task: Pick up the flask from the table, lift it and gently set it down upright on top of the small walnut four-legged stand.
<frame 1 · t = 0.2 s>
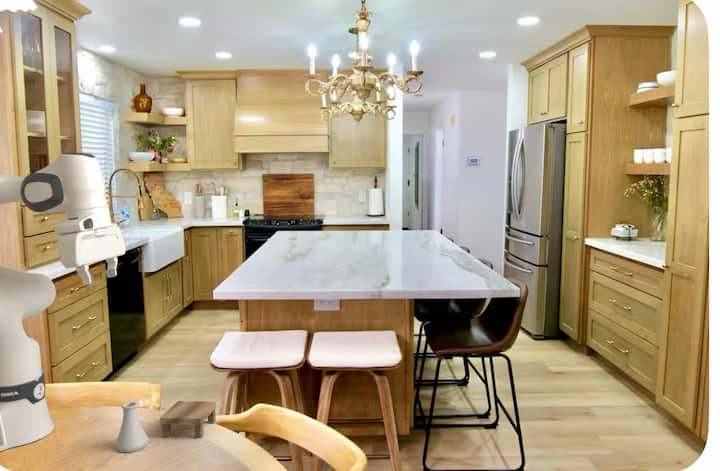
hand: (100, 280, 128), 38 cm above the table, tool pointing down, fingers open, 8 cm apart
flask: (132, 446, 127), on the table
walnut stand: (190, 429, 135), on the table
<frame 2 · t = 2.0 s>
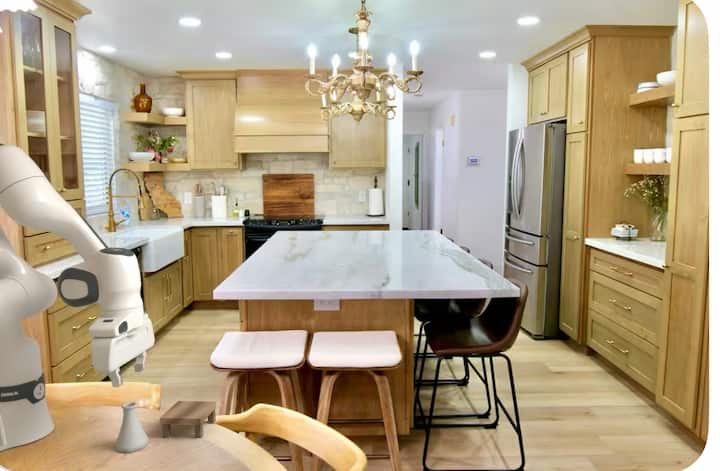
hand: (129, 378, 125), 16 cm above the table, tool pointing down, fingers open, 8 cm apart
nothing on the table moved.
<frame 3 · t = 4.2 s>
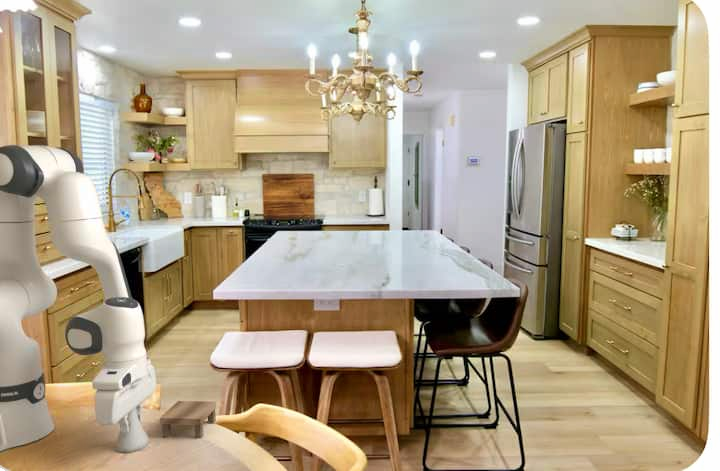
hand: (131, 426, 127), 5 cm above the table, tool pointing down, fingers closed on flask, 3 cm apart
flask: (132, 446, 127), on the table, touching gripper
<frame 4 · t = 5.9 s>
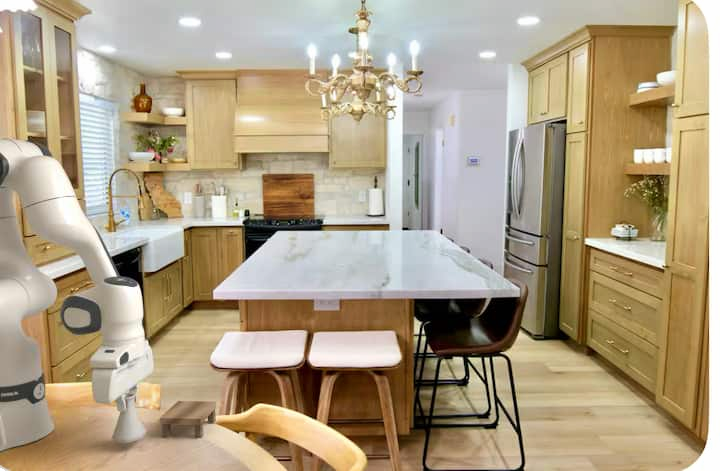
hand: (127, 406, 126), 9 cm above the table, tool pointing down, fingers closed on flask, 3 cm apart
flask: (129, 437, 127), point 2 cm above the table, touching gripper
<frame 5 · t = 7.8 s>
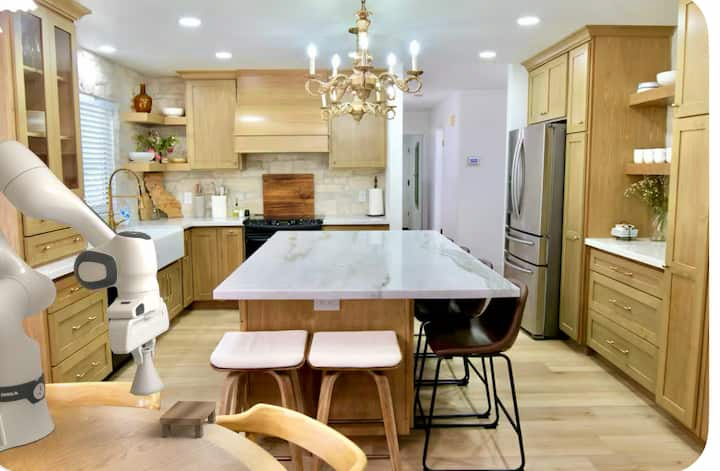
hand: (144, 360, 127), 20 cm above the table, tool pointing down, fingers closed on flask, 3 cm apart
flask: (147, 391, 128), point 12 cm above the table, touching gripper
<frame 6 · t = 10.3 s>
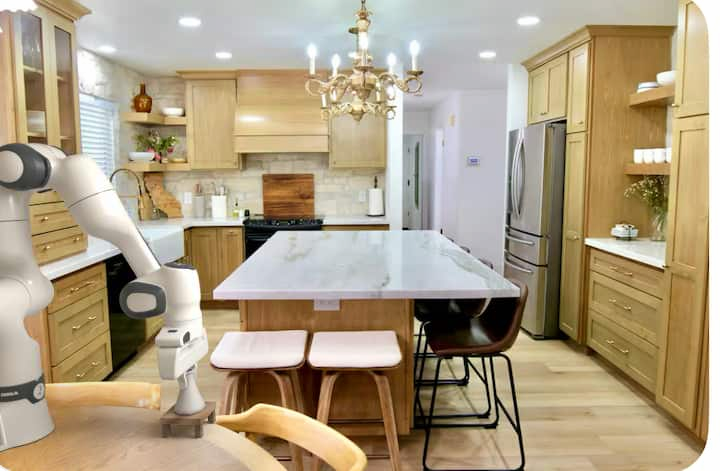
hand: (187, 384, 134), 11 cm above the table, tool pointing down, fingers closed on flask, 3 cm apart
flask: (189, 410, 134), point 5 cm above the table, touching gripper, walnut stand
when the fingers open (11 cm above the table, at t = 10.5 s): flask stays where it is, resting on walnut stand.
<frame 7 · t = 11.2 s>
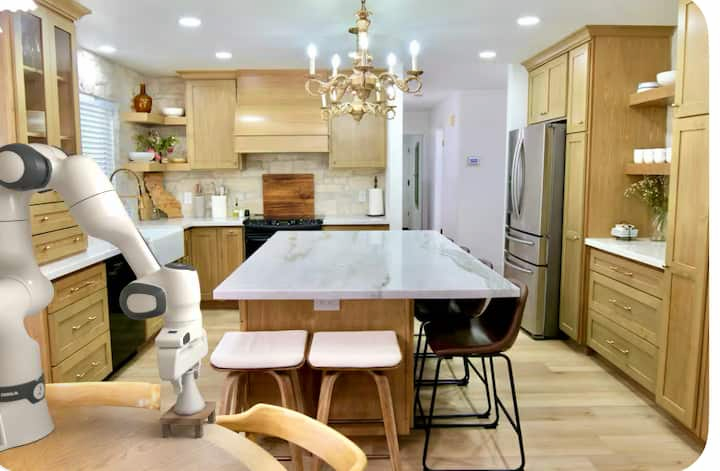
hand: (187, 385, 134), 11 cm above the table, tool pointing down, fingers open, 8 cm apart
flask: (189, 410, 134), point 5 cm above the table, touching walnut stand
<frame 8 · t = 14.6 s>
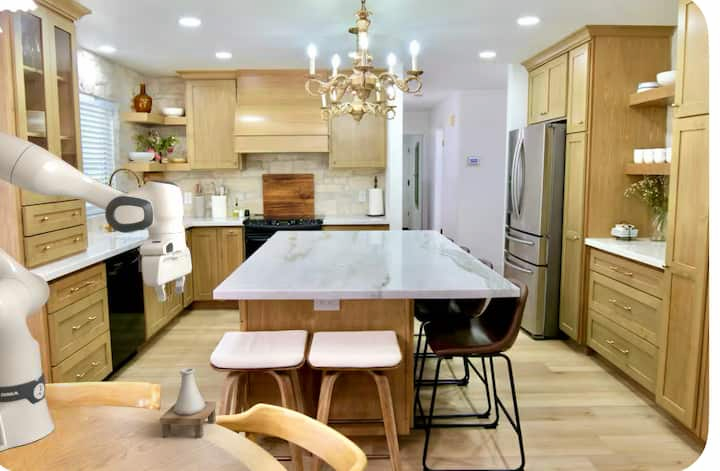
hand: (171, 297, 141), 31 cm above the table, tool pointing down, fingers open, 8 cm apart
nothing on the table moved.
at the end: flask 0.3 cm off-centre on the walnut stand, point 4.8 cm above the walnut stand's base; flask tilted 0°; the gripper is holding nothing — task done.
